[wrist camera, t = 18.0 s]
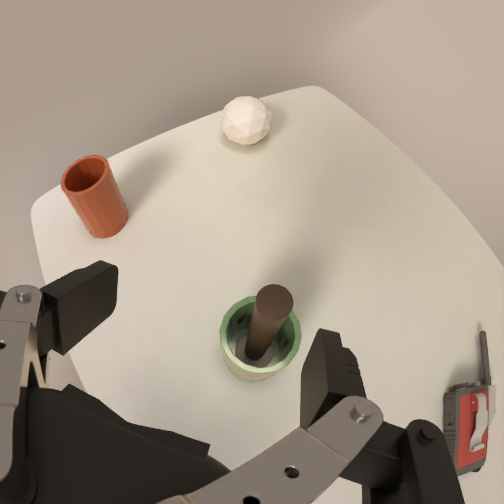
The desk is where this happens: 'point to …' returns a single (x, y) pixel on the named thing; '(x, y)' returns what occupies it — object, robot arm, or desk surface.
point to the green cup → (238, 326)
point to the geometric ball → (245, 120)
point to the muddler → (264, 325)
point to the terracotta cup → (95, 196)
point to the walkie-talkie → (470, 418)
